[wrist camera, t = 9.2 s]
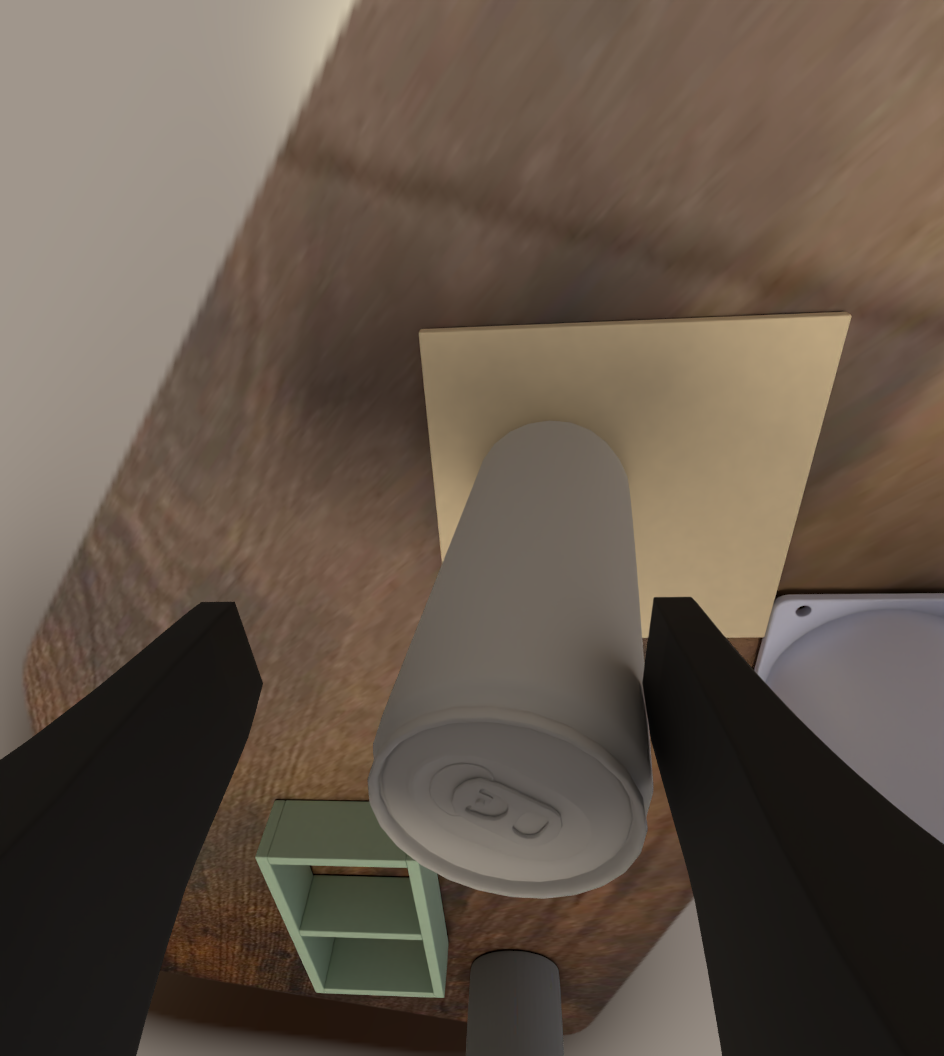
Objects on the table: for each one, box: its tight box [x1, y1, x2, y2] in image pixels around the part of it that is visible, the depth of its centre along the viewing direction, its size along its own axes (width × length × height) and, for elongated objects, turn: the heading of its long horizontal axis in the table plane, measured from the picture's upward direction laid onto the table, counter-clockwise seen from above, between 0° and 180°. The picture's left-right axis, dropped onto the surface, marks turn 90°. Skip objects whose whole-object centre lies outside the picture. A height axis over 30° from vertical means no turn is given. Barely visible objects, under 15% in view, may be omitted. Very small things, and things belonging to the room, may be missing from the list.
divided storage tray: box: [255, 800, 448, 998], centre depth 35 cm, size 8×15×3 cm, turn 3°
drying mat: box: [419, 312, 851, 638], centre depth 21 cm, size 12×12×1 cm
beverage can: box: [368, 420, 653, 898], centre depth 15 cm, size 5×5×12 cm
